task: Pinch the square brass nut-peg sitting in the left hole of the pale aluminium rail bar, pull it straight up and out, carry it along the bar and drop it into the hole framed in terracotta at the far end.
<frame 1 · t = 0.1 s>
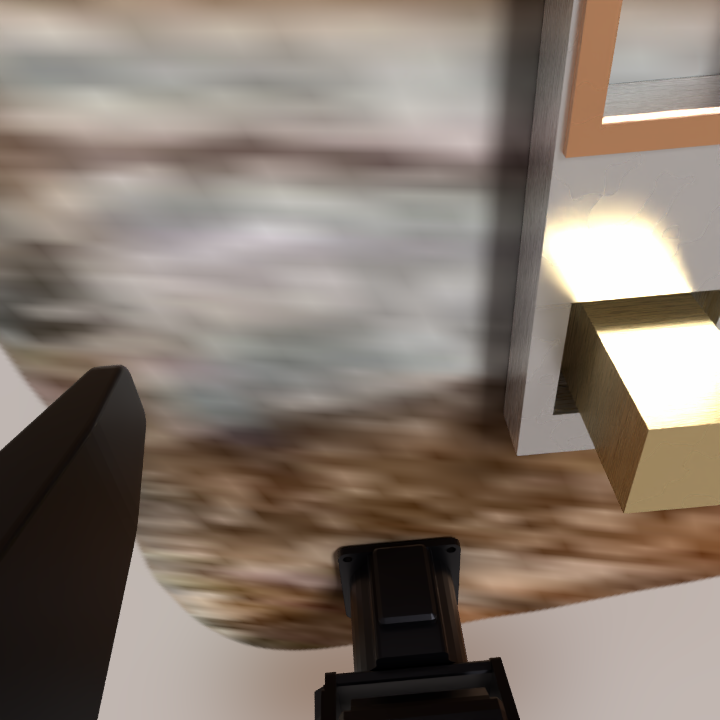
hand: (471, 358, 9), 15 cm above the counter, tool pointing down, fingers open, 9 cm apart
rail bar: (641, 176, 23), on the counter
brass peg: (611, 315, 27), resting in rail bar
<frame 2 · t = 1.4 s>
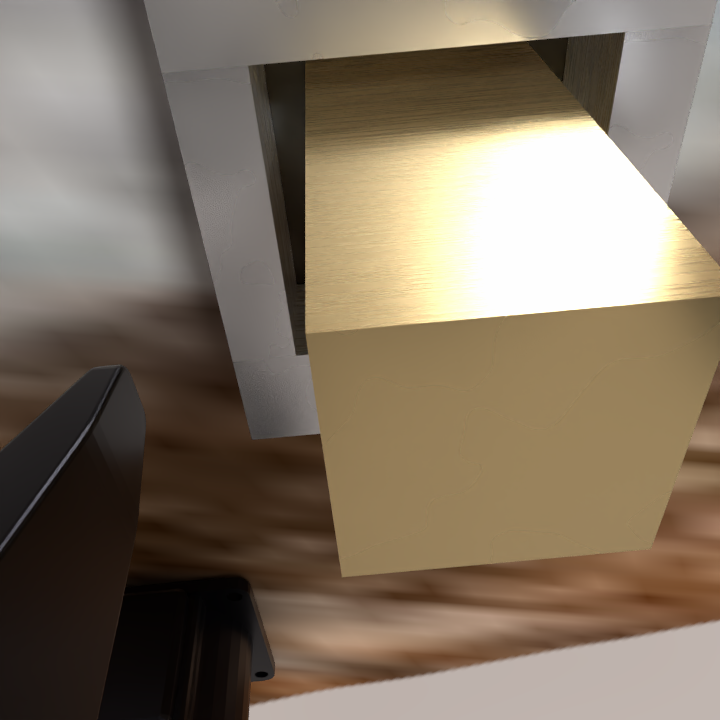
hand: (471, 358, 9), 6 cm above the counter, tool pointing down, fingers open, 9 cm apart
brass peg: (417, 156, 14), resting in rail bar
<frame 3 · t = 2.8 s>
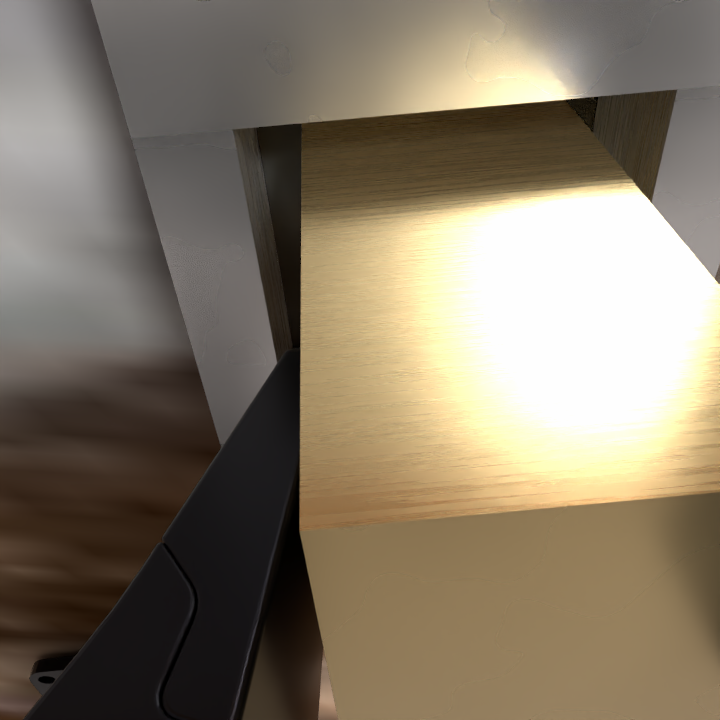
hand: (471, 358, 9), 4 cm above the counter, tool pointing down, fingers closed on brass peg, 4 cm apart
brass peg: (428, 211, 12), resting in rail bar, touching gripper
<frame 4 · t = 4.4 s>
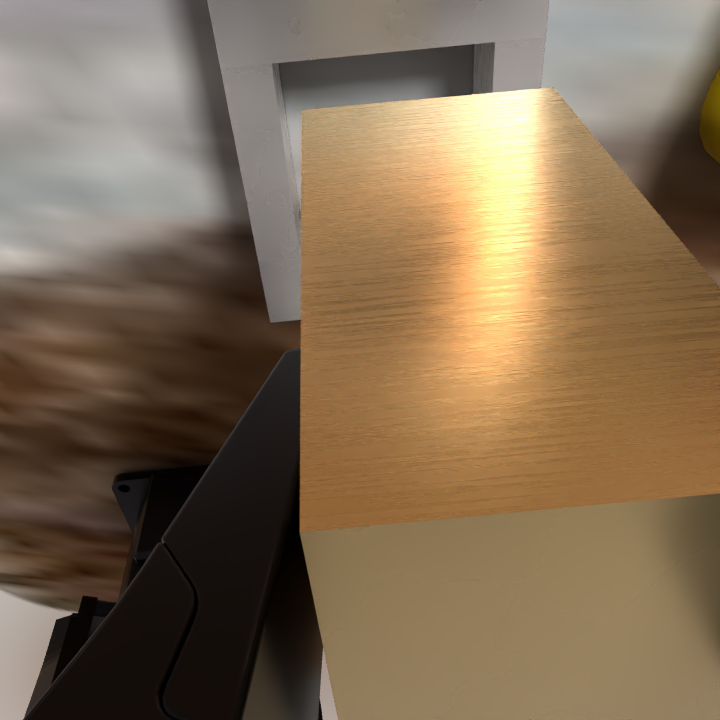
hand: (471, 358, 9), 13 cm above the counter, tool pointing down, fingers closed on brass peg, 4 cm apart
brass peg: (427, 212, 12), point 9 cm above the counter, touching gripper
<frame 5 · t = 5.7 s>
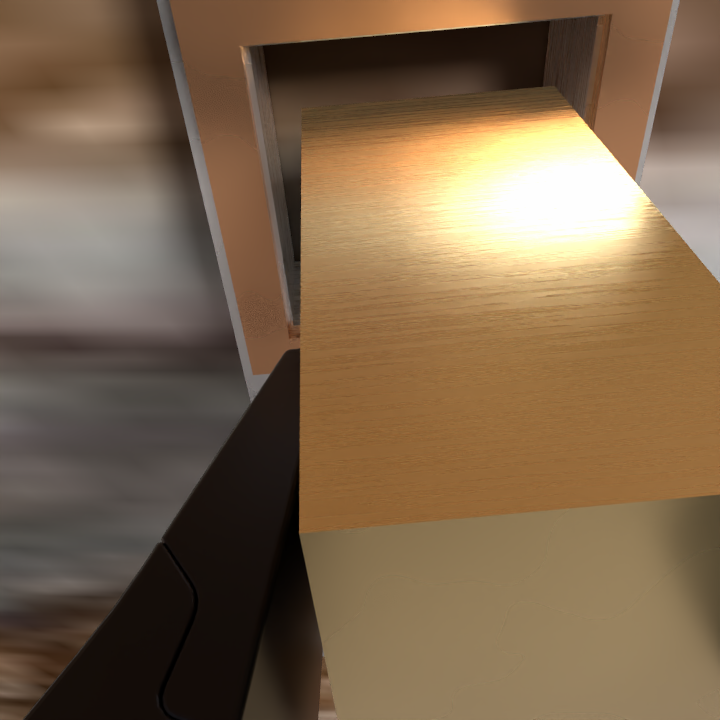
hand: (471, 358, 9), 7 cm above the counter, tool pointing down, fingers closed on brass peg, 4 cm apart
rail bar: (412, 356, 18), on the counter
brass peg: (428, 211, 12), point 3 cm above the counter, touching gripper
when the fingers open (5 cm above the counter, at t = 6.4 s): brass peg drops 1 cm, resting in rail bar.
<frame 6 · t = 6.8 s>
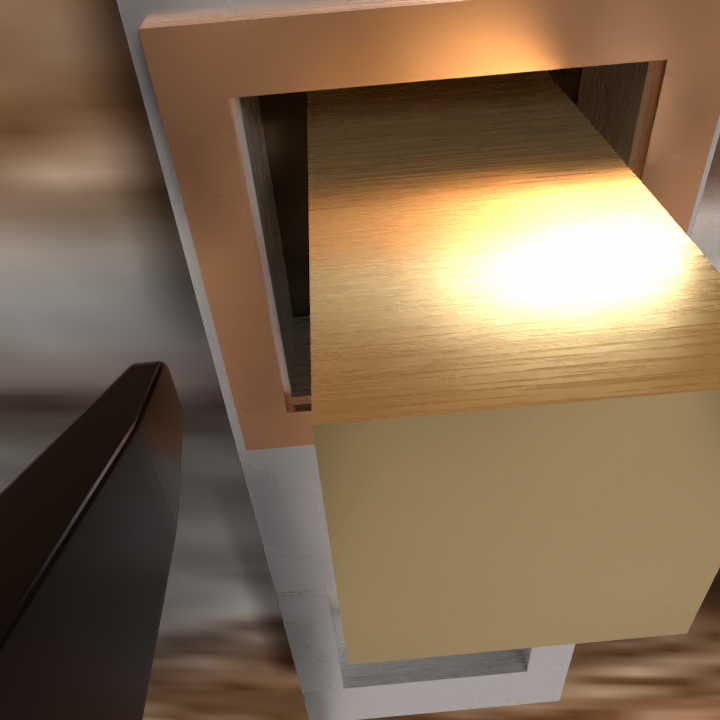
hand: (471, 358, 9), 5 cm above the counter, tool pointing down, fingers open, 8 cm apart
rail bar: (422, 413, 17), on the counter
brass peg: (424, 185, 13), resting in rail bar
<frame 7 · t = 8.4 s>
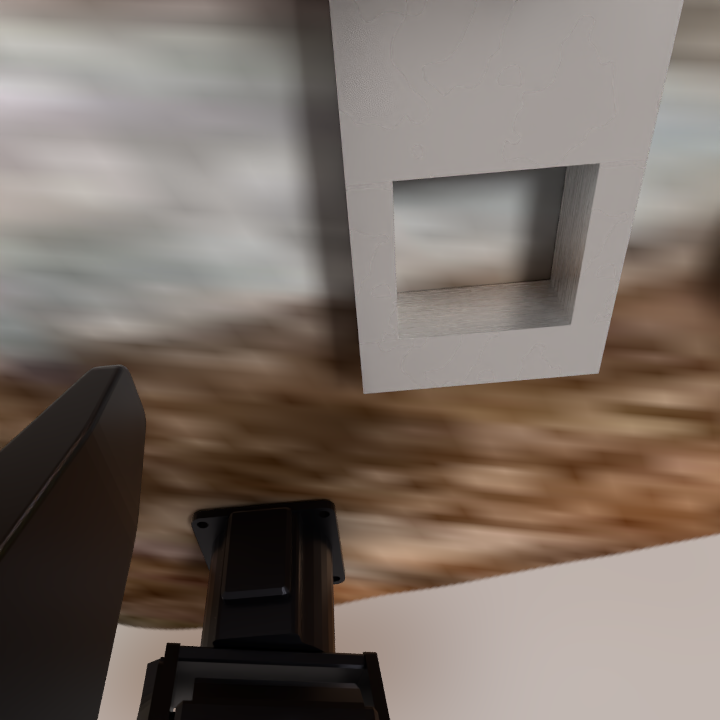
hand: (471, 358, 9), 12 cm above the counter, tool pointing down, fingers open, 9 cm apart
rail bar: (484, 12, 18), on the counter
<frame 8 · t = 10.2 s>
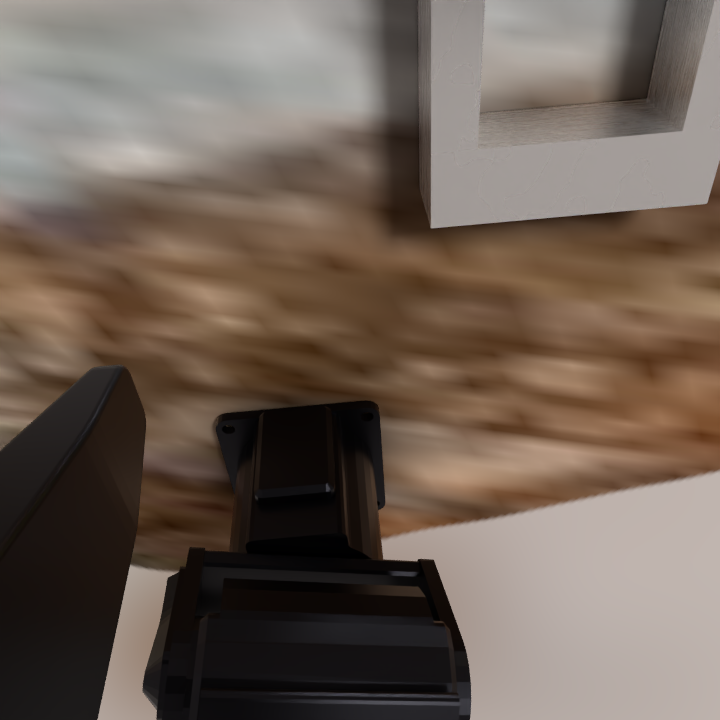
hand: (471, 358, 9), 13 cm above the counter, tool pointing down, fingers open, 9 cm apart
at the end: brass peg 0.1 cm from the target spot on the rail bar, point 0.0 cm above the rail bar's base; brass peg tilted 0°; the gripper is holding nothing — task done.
